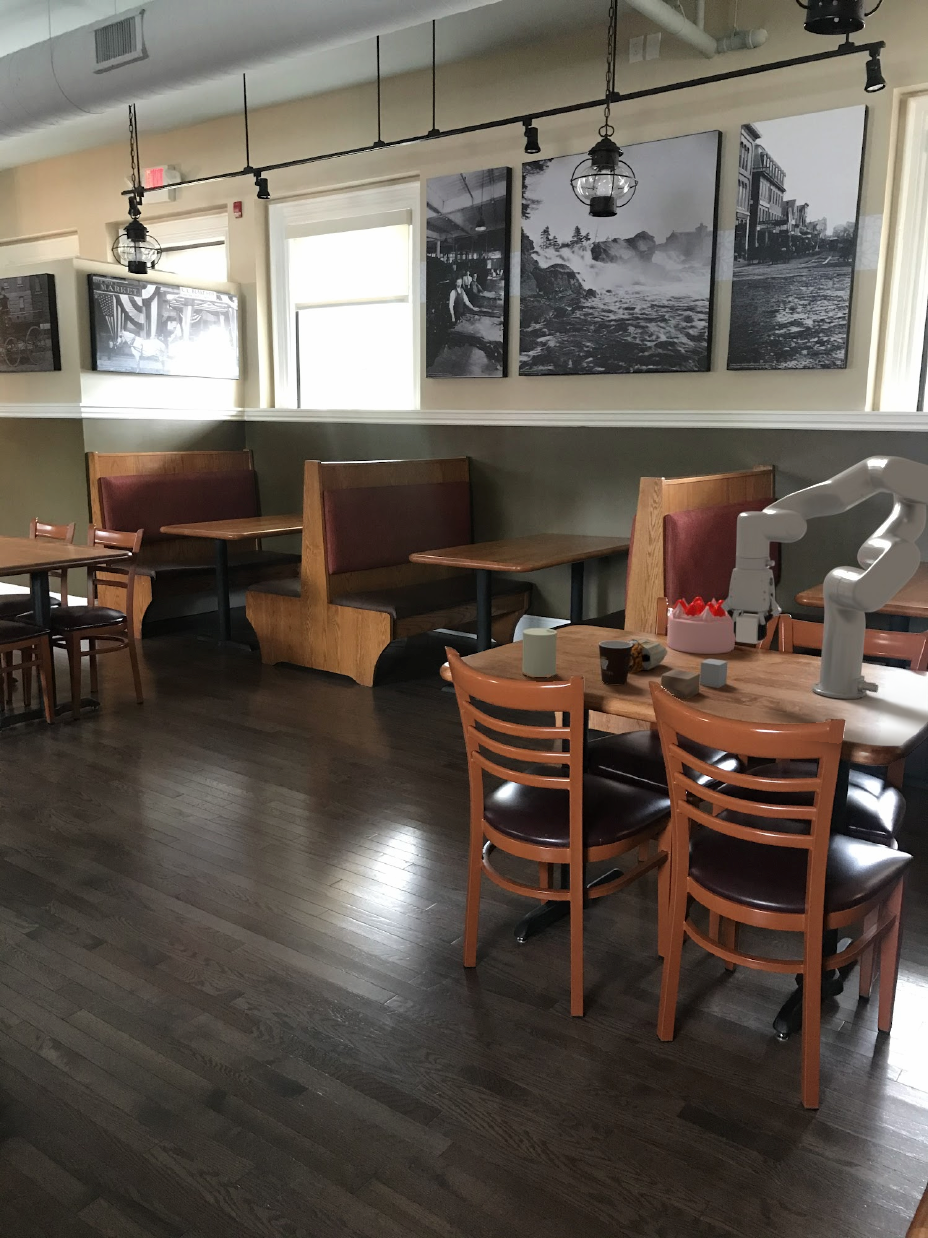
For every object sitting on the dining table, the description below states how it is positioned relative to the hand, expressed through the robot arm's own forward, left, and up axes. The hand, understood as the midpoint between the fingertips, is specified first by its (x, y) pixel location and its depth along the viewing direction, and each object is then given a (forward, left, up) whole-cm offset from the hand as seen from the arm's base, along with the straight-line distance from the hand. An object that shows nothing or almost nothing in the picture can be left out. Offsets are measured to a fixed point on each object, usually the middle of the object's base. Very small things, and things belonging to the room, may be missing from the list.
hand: (749, 637), depth 234 cm
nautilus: (+35, -9, -15) cm, 39 cm away
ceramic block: (0, 0, -1) cm, 1 cm away
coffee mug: (+31, +9, -15) cm, 36 cm away
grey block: (+11, -6, -15) cm, 20 cm away
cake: (+32, -44, -15) cm, 57 cm away
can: (+52, +13, -15) cm, 56 cm away
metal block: (+14, +7, -15) cm, 22 cm away
